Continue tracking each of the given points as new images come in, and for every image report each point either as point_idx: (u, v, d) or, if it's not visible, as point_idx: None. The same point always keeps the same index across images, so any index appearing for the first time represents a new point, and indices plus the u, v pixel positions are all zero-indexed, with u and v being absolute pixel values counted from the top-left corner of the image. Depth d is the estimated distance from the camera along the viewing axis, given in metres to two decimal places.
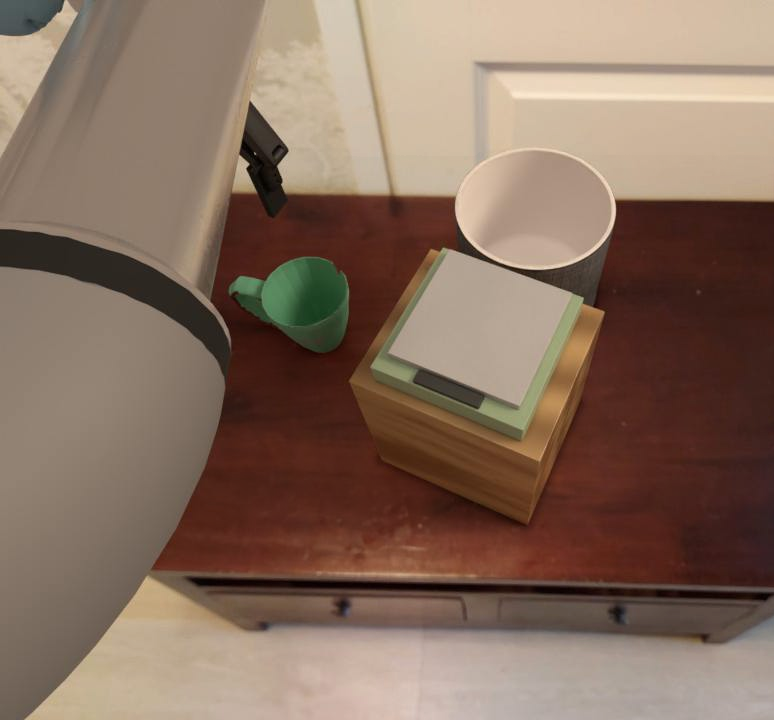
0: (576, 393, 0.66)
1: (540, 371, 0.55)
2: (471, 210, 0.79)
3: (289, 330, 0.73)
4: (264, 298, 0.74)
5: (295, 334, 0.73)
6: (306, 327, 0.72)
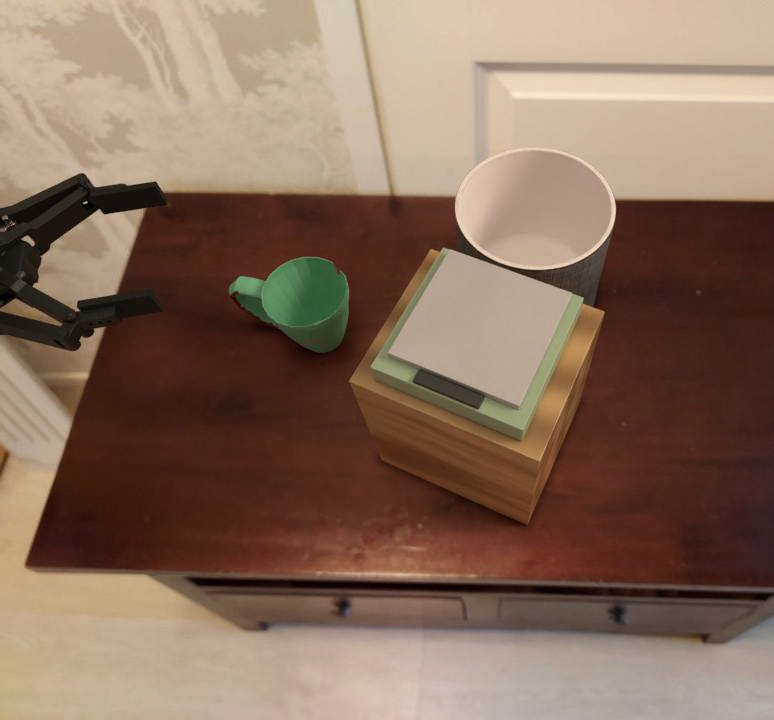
0: (576, 393, 0.66)
1: (540, 371, 0.55)
2: (471, 210, 0.79)
3: (289, 330, 0.73)
4: (264, 298, 0.74)
5: (295, 334, 0.73)
6: (306, 327, 0.72)
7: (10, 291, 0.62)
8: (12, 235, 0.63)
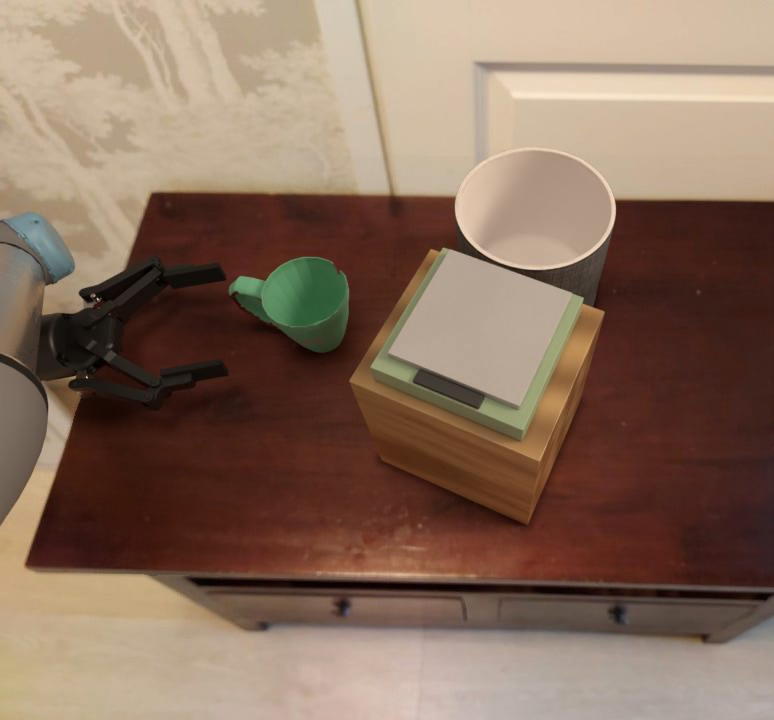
0: (576, 393, 0.66)
1: (540, 371, 0.55)
2: (471, 210, 0.79)
3: (289, 330, 0.73)
4: (264, 298, 0.74)
5: (295, 334, 0.73)
6: (306, 327, 0.72)
7: (101, 360, 0.74)
8: (101, 312, 0.75)
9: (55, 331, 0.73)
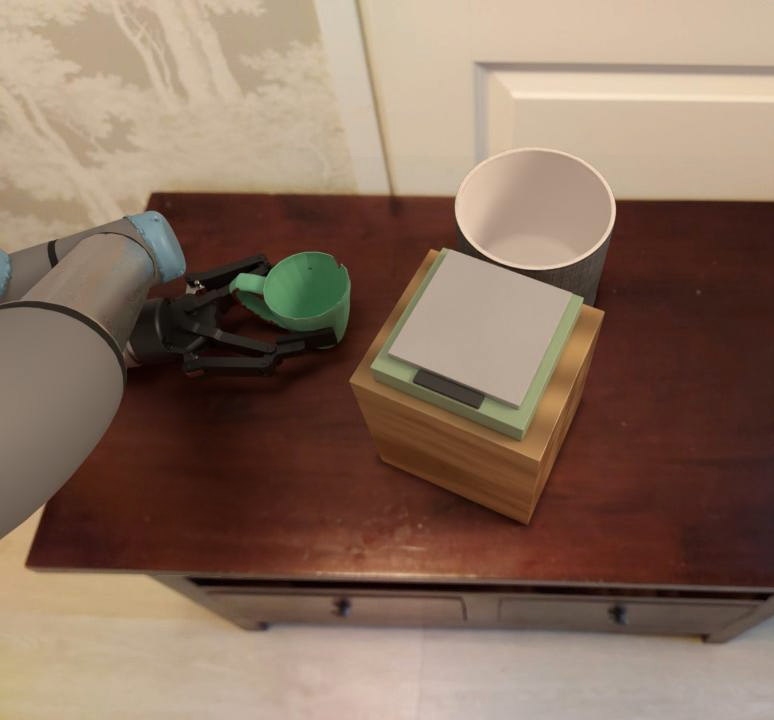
0: (576, 393, 0.66)
1: (540, 371, 0.55)
2: (471, 210, 0.79)
3: (292, 323, 0.73)
4: (266, 293, 0.75)
5: (298, 327, 0.73)
6: (309, 319, 0.72)
7: (203, 344, 0.75)
8: (202, 297, 0.76)
9: (160, 315, 0.74)
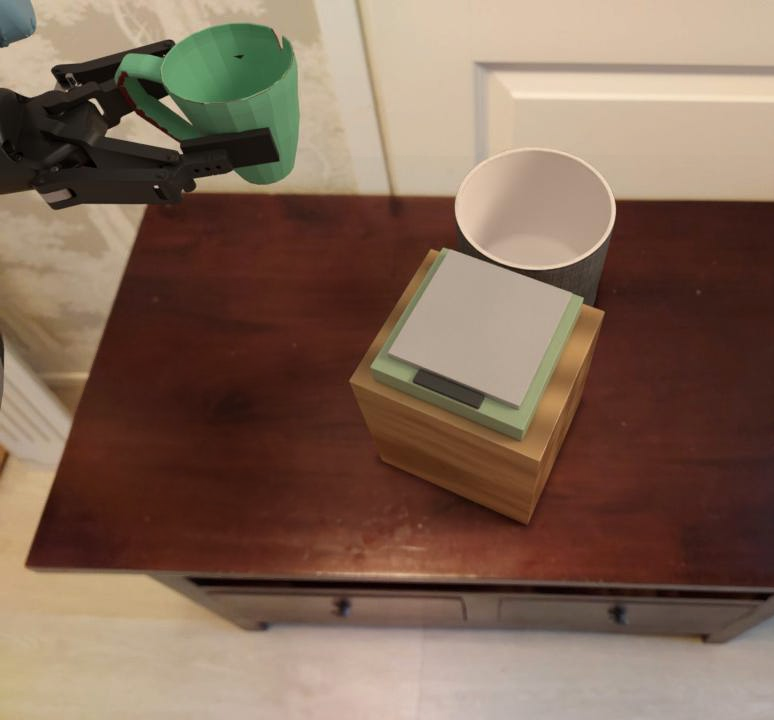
0: (576, 393, 0.66)
1: (540, 371, 0.55)
2: (471, 210, 0.79)
3: (204, 113, 0.47)
4: (166, 77, 0.49)
5: (215, 123, 0.48)
6: (229, 103, 0.46)
7: (72, 158, 0.49)
8: (73, 91, 0.50)
9: (2, 108, 0.48)
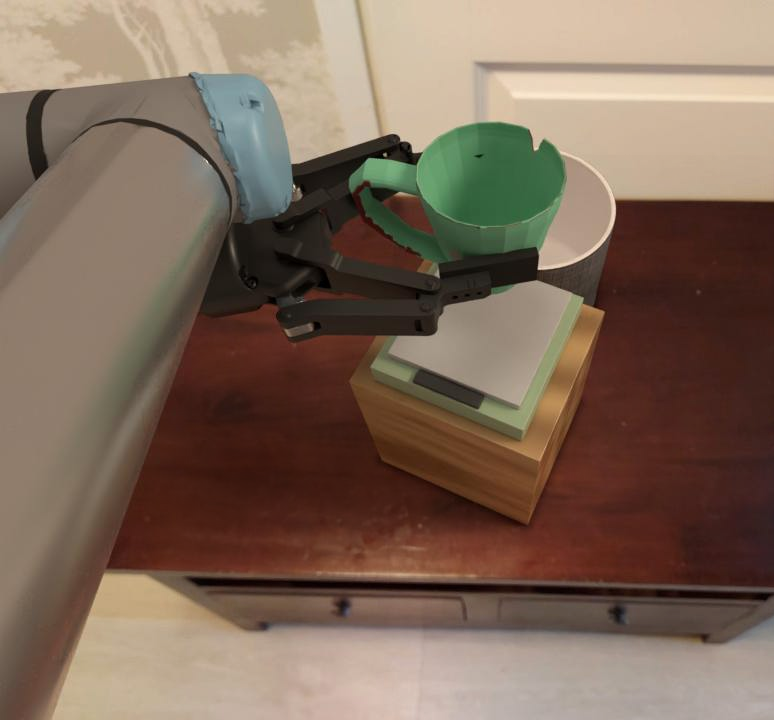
0: (576, 393, 0.66)
1: (540, 371, 0.55)
2: None
3: (475, 236, 0.41)
4: None
5: (482, 245, 0.41)
6: (509, 227, 0.40)
7: (308, 280, 0.43)
8: (303, 201, 0.44)
9: (236, 227, 0.41)
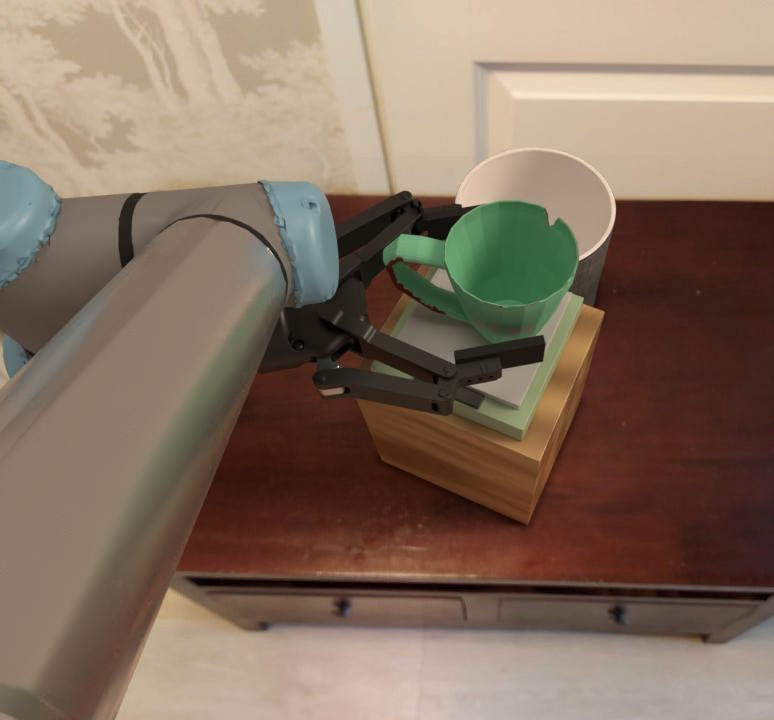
0: (576, 393, 0.66)
1: (540, 371, 0.55)
2: None
3: (497, 312, 0.46)
4: None
5: (503, 319, 0.47)
6: (528, 306, 0.45)
7: (347, 341, 0.48)
8: (342, 269, 0.49)
9: None
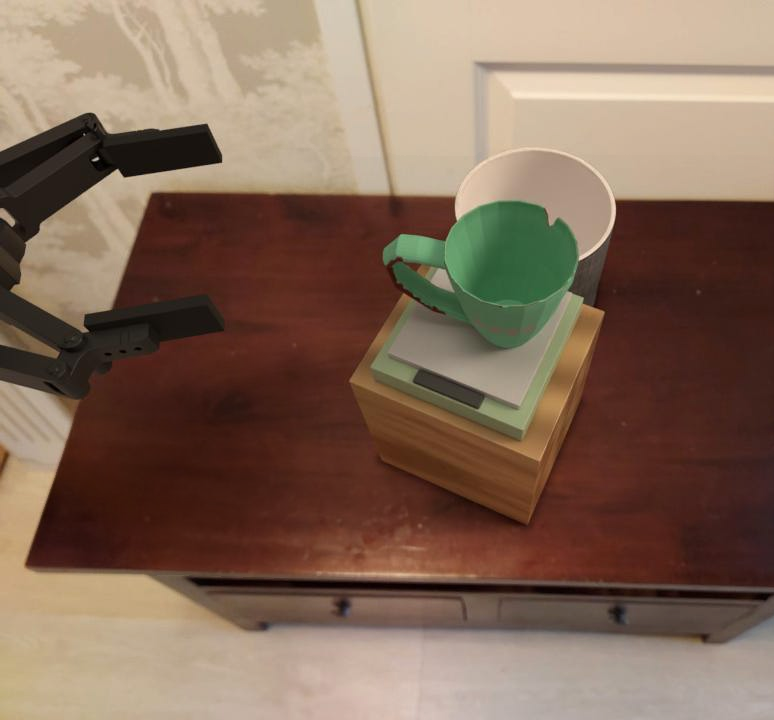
0: (576, 393, 0.66)
1: (540, 371, 0.55)
2: None
3: (497, 312, 0.46)
4: None
5: (503, 319, 0.47)
6: (528, 306, 0.45)
7: None
8: None
9: None
